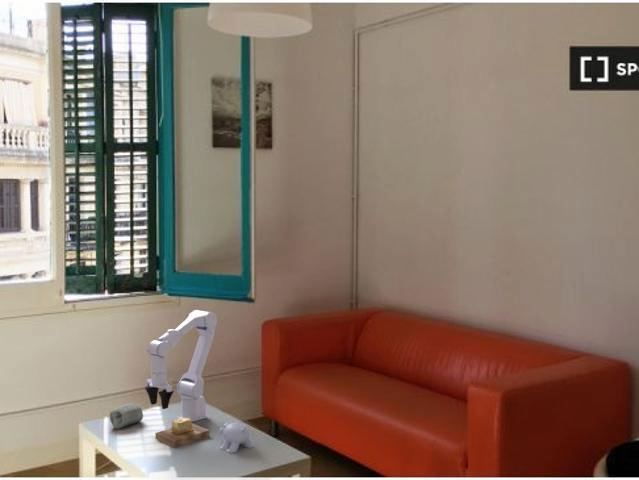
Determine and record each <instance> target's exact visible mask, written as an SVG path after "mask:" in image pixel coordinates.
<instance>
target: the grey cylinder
mask: <svg viewBox="0 0 639 480" xmlns="http://www.w3.org/2000/svg"><path fill="white" fill-rule="evenodd" d="M143 418H144V412H143V410H142V407H141V406H140V404H139V403H136V402H134V403H133V402H132V403H131V402H130V403H127V404H123V405H121V406H118V407H116V408H113V409H112V410H111V411H110V412H109V420H110V424H111V425H112V427H113V428H115V429H116V430H117V429H118V430H119V429H122V428H124V427H126V426H131V425H134V424H137V423H140V422H141V421H142V420H143Z"/></svg>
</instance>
